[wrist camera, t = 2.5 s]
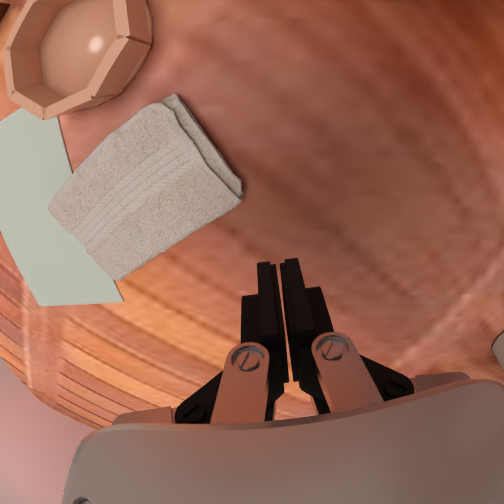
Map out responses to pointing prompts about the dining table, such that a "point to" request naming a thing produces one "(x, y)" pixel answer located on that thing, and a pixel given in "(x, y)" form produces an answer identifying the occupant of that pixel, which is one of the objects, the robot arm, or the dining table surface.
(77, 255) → the mat
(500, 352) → the travel mug
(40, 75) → the bowl
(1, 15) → the food container
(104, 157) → the washcloth
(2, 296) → the dining table surface
